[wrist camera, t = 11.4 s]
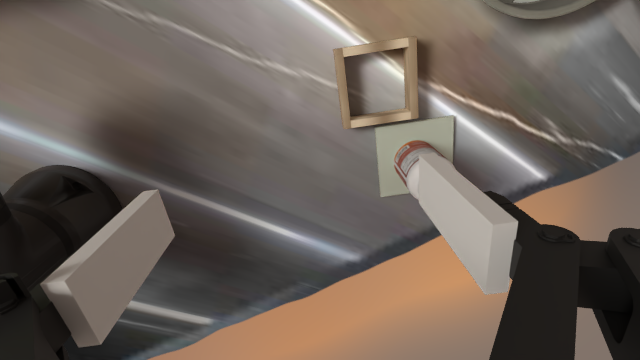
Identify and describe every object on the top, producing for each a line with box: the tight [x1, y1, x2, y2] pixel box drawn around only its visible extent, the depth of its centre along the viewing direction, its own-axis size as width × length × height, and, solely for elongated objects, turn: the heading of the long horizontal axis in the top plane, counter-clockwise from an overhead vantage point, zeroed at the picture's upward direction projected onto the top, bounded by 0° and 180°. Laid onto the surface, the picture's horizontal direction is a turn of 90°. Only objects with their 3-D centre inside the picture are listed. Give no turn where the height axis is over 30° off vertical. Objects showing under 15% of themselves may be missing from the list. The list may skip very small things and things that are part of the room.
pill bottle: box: [394, 140, 456, 200], centre depth 41 cm, size 6×6×11 cm
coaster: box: [375, 115, 454, 197], centre depth 46 cm, size 11×11×1 cm
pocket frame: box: [333, 36, 418, 129], centre depth 41 cm, size 10×10×2 cm
